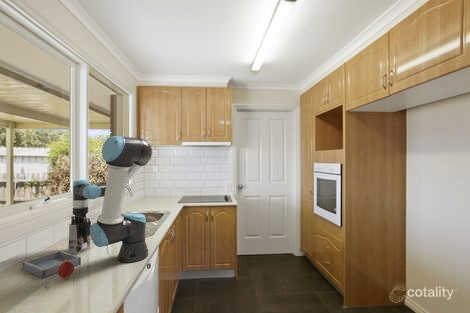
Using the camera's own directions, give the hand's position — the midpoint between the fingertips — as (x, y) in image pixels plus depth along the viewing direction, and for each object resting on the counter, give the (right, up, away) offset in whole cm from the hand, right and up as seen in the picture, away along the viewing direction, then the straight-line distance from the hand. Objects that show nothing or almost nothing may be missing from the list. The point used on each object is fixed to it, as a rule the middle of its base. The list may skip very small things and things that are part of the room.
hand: (79, 247), depth 134 cm
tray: (0, -2, -20) cm, 20 cm away
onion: (+14, -2, -30) cm, 34 cm away
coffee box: (0, -2, 0) cm, 2 cm away
